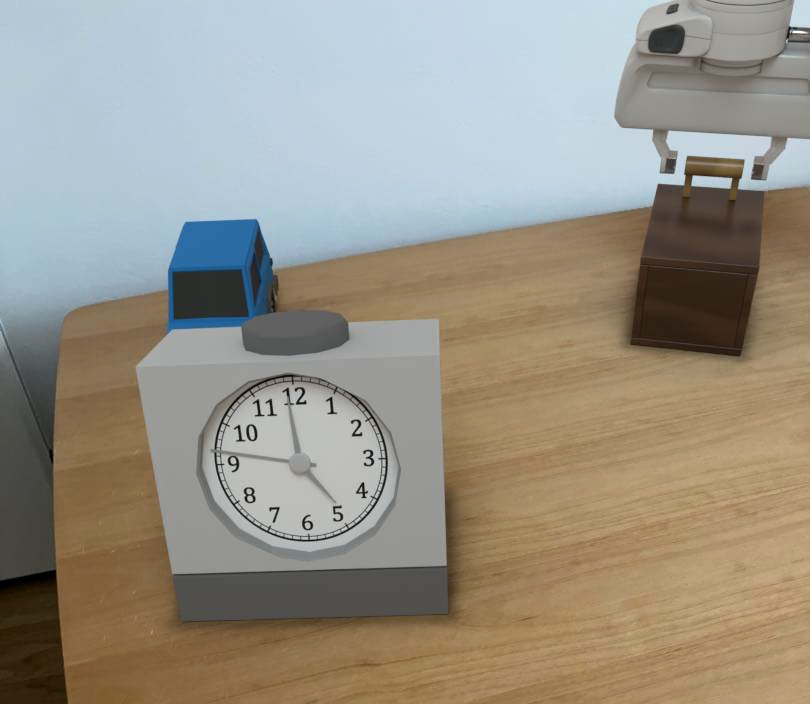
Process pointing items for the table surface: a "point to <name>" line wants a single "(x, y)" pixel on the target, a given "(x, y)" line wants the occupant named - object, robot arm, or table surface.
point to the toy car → (220, 275)
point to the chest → (692, 309)
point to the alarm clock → (300, 466)
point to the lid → (706, 221)
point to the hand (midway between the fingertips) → (712, 174)
